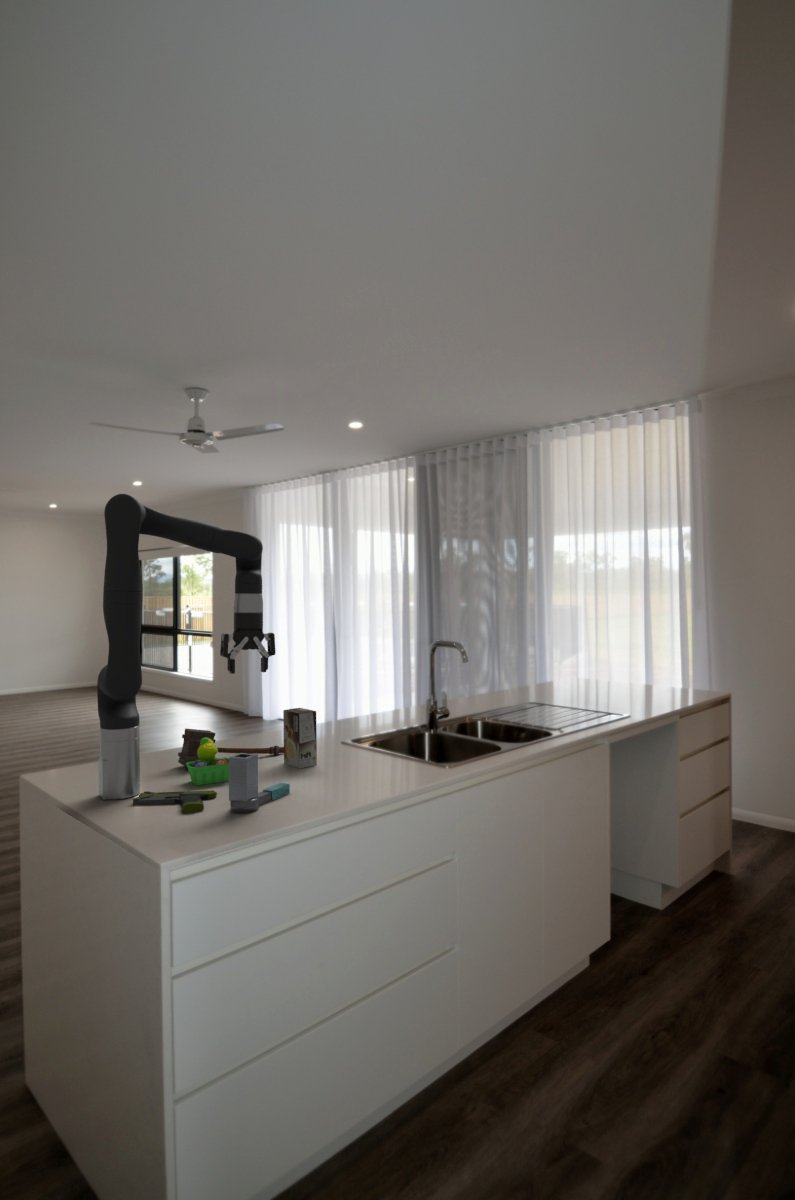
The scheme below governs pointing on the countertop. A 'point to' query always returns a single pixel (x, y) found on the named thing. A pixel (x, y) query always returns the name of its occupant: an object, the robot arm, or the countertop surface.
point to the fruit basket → (208, 765)
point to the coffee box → (300, 737)
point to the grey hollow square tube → (243, 777)
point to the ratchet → (260, 799)
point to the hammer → (193, 743)
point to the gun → (176, 799)
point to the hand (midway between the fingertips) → (248, 672)
